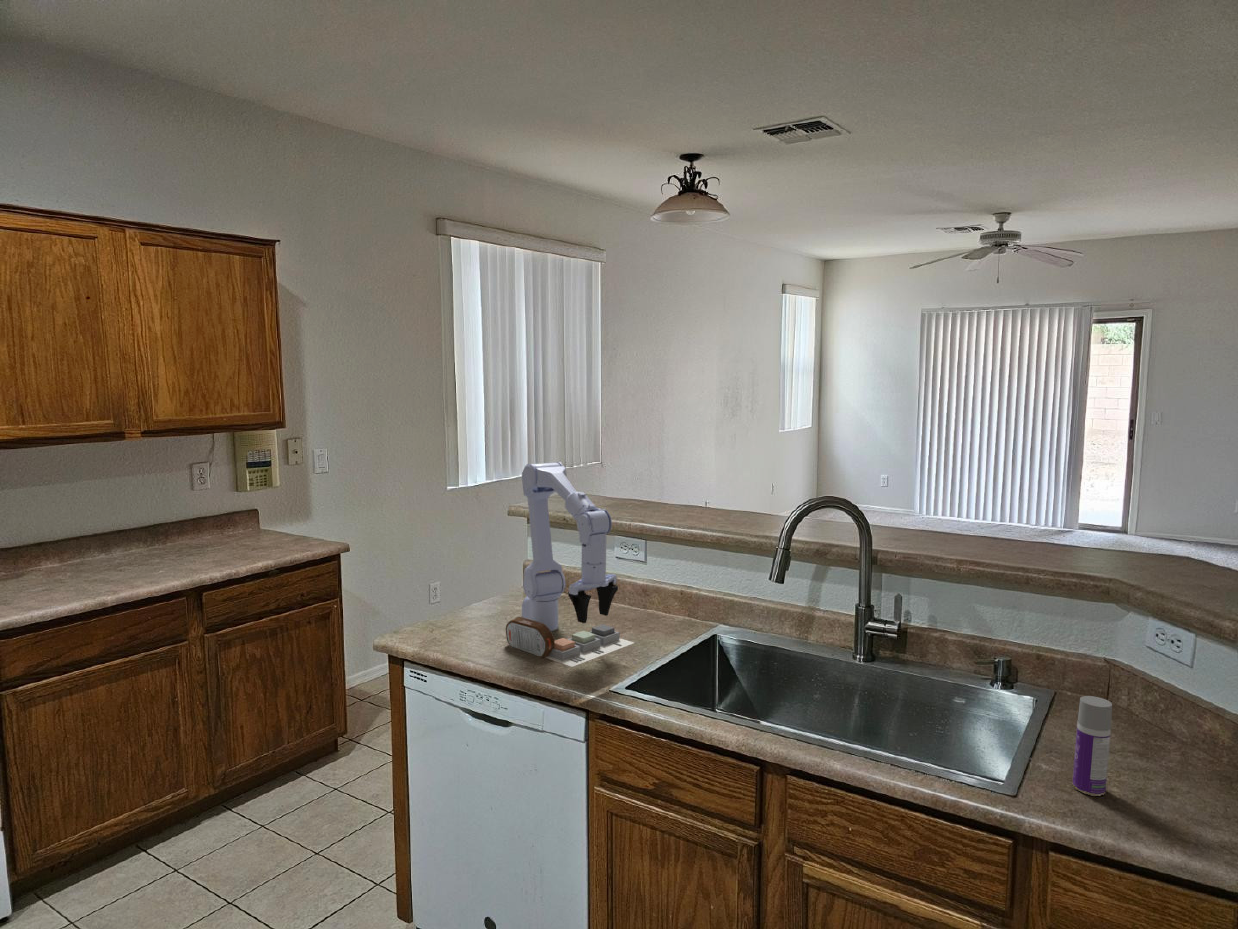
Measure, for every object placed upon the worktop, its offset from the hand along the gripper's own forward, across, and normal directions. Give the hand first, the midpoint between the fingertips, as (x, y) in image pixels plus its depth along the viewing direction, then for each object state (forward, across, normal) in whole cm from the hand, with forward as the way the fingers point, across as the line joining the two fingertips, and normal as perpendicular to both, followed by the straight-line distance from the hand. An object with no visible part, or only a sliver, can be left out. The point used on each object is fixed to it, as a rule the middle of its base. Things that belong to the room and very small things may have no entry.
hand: (593, 618), depth 184 cm
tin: (+10, -9, +12) cm, 18 cm away
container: (+9, +10, -100) cm, 101 cm away
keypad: (+10, +2, +3) cm, 10 cm away
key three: (+8, -5, +5) cm, 10 cm away
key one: (+7, +9, +5) cm, 12 cm away
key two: (+7, +2, +5) cm, 9 cm away
